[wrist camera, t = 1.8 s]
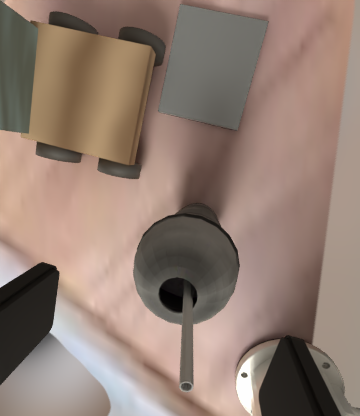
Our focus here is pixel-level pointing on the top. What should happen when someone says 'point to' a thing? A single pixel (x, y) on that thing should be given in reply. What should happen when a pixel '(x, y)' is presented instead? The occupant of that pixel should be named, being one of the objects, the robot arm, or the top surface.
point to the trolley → (76, 88)
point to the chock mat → (211, 66)
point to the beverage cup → (186, 273)
